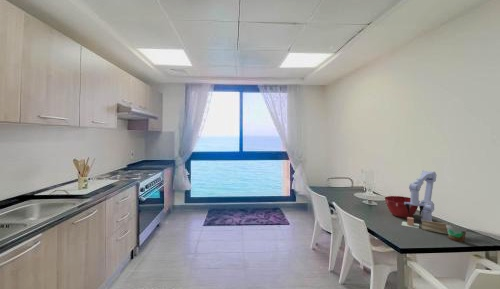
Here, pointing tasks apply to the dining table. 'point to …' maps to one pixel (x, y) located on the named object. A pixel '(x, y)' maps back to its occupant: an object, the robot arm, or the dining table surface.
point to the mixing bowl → (400, 206)
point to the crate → (434, 226)
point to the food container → (456, 233)
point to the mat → (410, 225)
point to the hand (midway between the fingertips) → (414, 214)
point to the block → (410, 221)
